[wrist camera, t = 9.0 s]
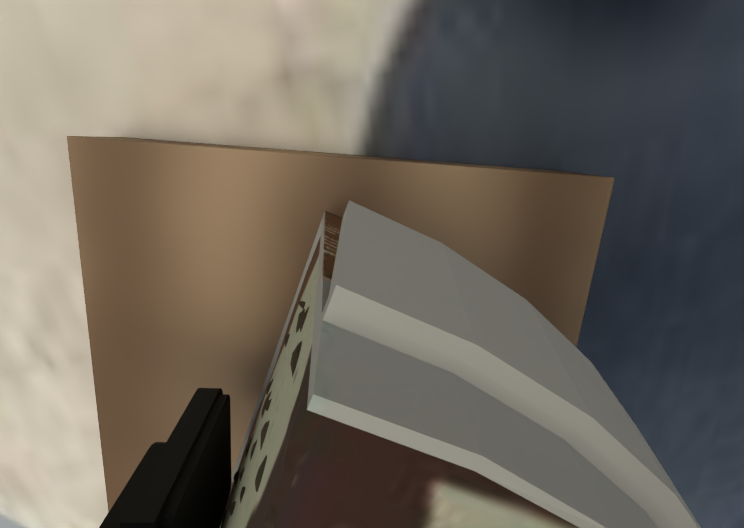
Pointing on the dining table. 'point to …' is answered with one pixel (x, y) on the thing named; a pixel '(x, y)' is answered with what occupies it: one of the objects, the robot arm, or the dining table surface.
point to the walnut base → (279, 260)
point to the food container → (434, 404)
